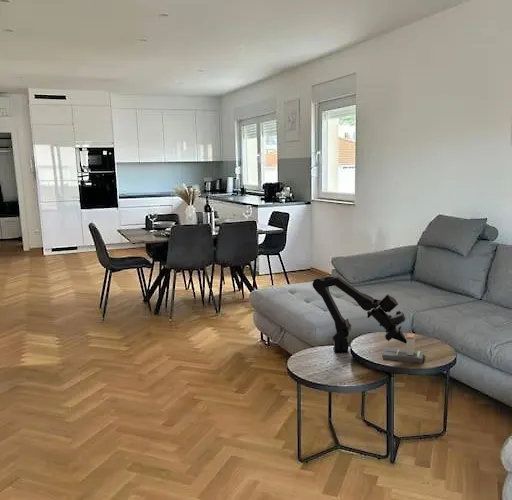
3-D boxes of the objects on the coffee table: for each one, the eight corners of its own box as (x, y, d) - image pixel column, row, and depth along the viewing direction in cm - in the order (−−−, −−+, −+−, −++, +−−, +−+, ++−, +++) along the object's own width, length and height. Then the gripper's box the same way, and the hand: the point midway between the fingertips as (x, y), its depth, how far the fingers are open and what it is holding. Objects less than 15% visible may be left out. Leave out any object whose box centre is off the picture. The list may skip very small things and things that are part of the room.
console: (382, 358, 235) (382, 354, 234) (385, 351, 244) (385, 347, 243) (422, 362, 228) (422, 358, 227) (423, 355, 237) (423, 350, 237)
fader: (406, 354, 232) (406, 336, 231) (407, 350, 237) (407, 333, 236) (413, 355, 231) (413, 337, 230) (414, 351, 236) (414, 333, 234)
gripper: (392, 313, 225) (417, 338, 222) (397, 302, 242) (420, 325, 239) (374, 328, 229) (399, 353, 227) (380, 316, 246) (403, 339, 244)
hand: (406, 342), depth 234 cm, fingers closed, pressing on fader
